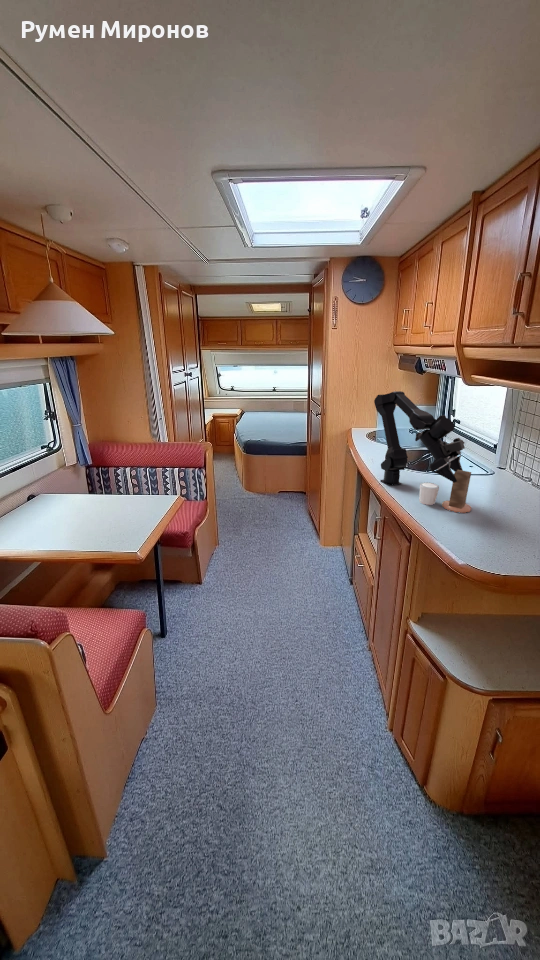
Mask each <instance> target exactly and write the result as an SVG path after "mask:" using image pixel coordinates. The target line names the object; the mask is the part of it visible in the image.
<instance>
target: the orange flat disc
mask: <svg viewBox="0 0 540 960" xmlns="http://www.w3.org/2000/svg"><path fill="white" fill-rule="evenodd" d="M449 501H450V499H449V500H444V501H442V503H441V507H442V508H443V507H444V508H443V509H445V510H446V509H447V511H449V510H450V511H449V512H452V511H454V512H453V513H457V512H460V513H459V514H467V513H466V512H468V513H470V512H471V511H472V506H471V505H470V504H468V503H466V502H465V506H464V507H463V508H462V509H460V508H456V507H452V506H449Z"/></svg>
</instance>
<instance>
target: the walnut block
mask: <svg viewBox="0 0 540 960" xmlns="http://www.w3.org/2000/svg"><path fill="white" fill-rule="evenodd" d="M453 474H454V476H455V478H456V480H457V482H455V483H454V482H452V484H451V485H452V486H451V491H450V496H449V500H450V501H449V500H448V501H449V506H452V507H456V508H460V509H462V508H463V507H464V506H465V503H466V501H467V498H468V497H467V496H468V491H469V486H470V481H471V476H472V472H471V471H467V470H457V471H456V472H455V471H454V472H453Z"/></svg>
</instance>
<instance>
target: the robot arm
mask: <svg viewBox="0 0 540 960" xmlns="http://www.w3.org/2000/svg"><path fill="white" fill-rule="evenodd" d="M373 402H374V407H375V409H376V412H378V414H379V415H380V416H381V420H382V425H383V429H384V435H385V440H386V445H387V450H386V453H385V454H384V455H385V459H384V460H382V462H381V463H380V467H381V470H384V475H383V479H380V482H382V483H383V484H385V485H387V486H399V485H402V482H401V481H400V476H401V475H400V472H401V471H404V470H405V468H406V466H407V464H408V458H409V457H408V452H407V449H406V448H403V447H402V446H401V445H400V444H401V443H400V438H399V435H398V434H399V433H398V430H397V429H398V428H397V423H396V420H395V411H396V408H397V407H399V410H401V411H402V412H403V413H404V414H405V415H406V416H407V417H408V419H409V424H410V425H411V427H412V428H413V429H414V430H415V431H419V432H417V433H416V434H415V442H418V441H421V443H422V444H423V446H424V447H425V449H427V451H426V453H427V454H428V455H429V454H430V455H431V457H432V458H433V459H434V460H433V462H432V463H430V464H429V466H428V469H429V470H430V471H431V472H432V473H434V474H437V475H439V476H442V477H443V478H445V479H447V480H449V481H451V482H452V483H453V482H454V483H455V482H457V480H456V478H455V476H454V473H455V472H456V471H457V470H463V467H462V464H461V457H462V452H461V451H463V449H466V448H465V441H464V440H463V439H461V438H460V437H456V438H454V439H453V441H452V442H450V443H447V442H446V441H444V440H442V439H443V438H445V437H446V436H447V435H449V434H450V433H451V432H453V431H454V430H455V424H454V422H453V421H452V420H451V419H450V418H447V416H446V415H444V414H443V415H442V414H441V415H439V416H438V417H437V418H435V417H434V415H432V414H431V413H429V412H428V411H426V410H424V409H423V410H422V409H421V408H419V407H418V406H417V405H416V404H415V403H414V402H413V401H412V400H411V399H410V398H409V397H408V396H407V395H405V392H404V391H400V390H399V391H398V390H397V391H396V390H395V391H391V392H389V393H386V394H383V393H382V394H378V395H376V396H375V398H374V401H373ZM420 430H421V431H422V432H421V431H420ZM463 471H464V470H463Z"/></svg>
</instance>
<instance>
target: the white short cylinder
mask: <svg viewBox="0 0 540 960" xmlns="http://www.w3.org/2000/svg"><path fill="white" fill-rule="evenodd" d="M439 491H440V485H438V484H436V483H434V482H428V481H427V482H425V481H424V482H421V483H419V496H418V497H419V499H418V502H419V503H420V504H422V505H425V504H426V506H433V504H434V505H435V504H436V500H437V497H438V495H439V494H438V493H439Z"/></svg>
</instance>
